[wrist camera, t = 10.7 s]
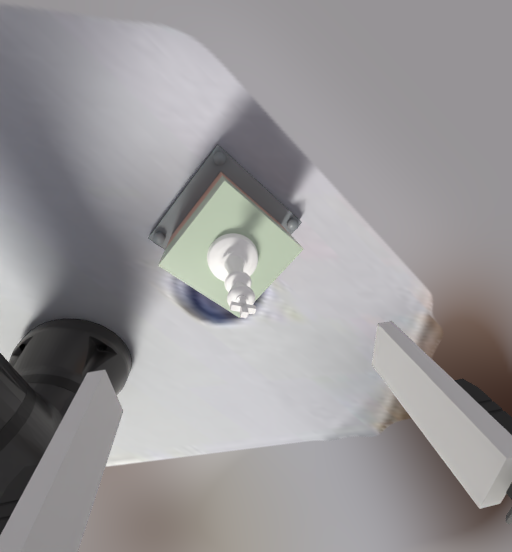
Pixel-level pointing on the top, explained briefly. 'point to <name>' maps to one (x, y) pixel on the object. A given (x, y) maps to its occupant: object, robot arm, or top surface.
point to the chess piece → (235, 269)
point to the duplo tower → (225, 227)
